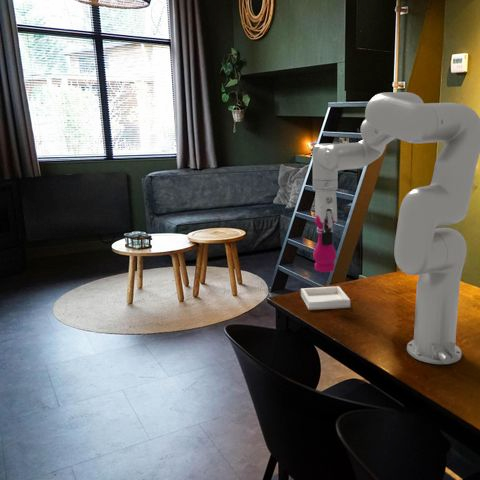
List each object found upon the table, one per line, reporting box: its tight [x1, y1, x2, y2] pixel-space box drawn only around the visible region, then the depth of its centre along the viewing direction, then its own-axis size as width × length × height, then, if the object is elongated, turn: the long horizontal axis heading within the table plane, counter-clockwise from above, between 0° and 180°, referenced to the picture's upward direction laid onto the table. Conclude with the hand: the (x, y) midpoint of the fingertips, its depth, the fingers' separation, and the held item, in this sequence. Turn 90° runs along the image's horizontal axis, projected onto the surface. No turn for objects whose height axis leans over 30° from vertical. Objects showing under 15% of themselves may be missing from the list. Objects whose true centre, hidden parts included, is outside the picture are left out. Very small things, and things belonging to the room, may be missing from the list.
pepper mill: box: [312, 215, 337, 273], centre depth 153 cm, size 7×7×20 cm
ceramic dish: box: [300, 285, 351, 311], centre depth 158 cm, size 13×13×2 cm
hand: (324, 241), depth 154 cm, fingers closed on pepper mill, 5 cm apart
